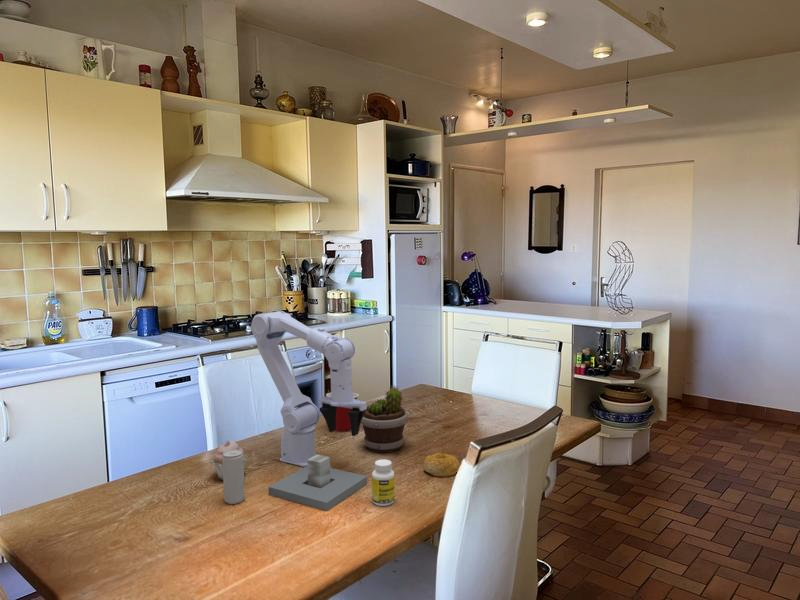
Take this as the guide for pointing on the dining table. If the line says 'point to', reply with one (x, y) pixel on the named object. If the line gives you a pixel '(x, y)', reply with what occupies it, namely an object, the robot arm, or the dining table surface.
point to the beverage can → (233, 476)
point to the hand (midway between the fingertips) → (343, 433)
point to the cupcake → (218, 455)
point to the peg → (318, 471)
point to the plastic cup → (343, 416)
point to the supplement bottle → (383, 483)
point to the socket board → (316, 497)
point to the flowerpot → (385, 422)
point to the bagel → (441, 465)
